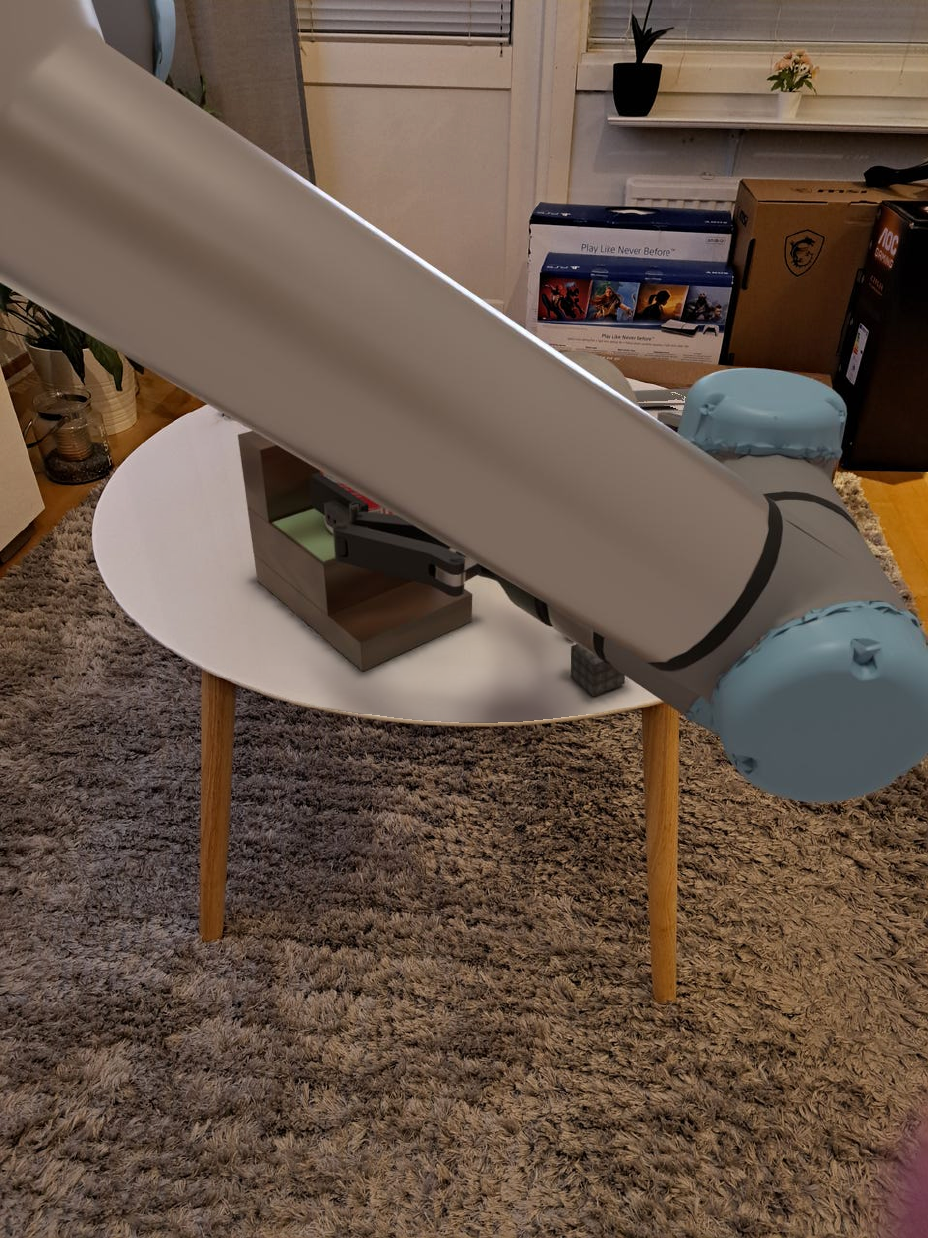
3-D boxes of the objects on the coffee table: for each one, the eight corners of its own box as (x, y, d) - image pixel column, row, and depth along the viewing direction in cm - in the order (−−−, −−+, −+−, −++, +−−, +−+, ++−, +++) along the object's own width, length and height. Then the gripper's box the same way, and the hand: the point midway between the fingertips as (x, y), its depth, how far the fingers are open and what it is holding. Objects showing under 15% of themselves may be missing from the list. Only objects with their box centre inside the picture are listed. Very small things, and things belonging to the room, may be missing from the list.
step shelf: (472, 621, 78) (477, 470, 69) (362, 672, 71) (353, 512, 63) (360, 542, 89) (353, 404, 80) (257, 580, 83) (237, 434, 74)
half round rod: (721, 404, 122) (723, 392, 121) (587, 409, 121) (588, 397, 120) (711, 396, 126) (712, 384, 125) (580, 401, 124) (581, 388, 123)
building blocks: (593, 697, 69) (539, 648, 75) (646, 674, 71) (590, 628, 77) (594, 665, 68) (538, 618, 74) (649, 642, 70) (590, 598, 76)
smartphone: (655, 411, 116) (752, 412, 120) (654, 419, 117) (751, 420, 121) (682, 419, 110) (783, 420, 114) (681, 427, 110) (782, 428, 114)
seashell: (549, 463, 122) (491, 383, 114) (630, 402, 120) (577, 316, 111) (583, 510, 110) (521, 424, 101) (675, 443, 107) (619, 349, 99)
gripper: (430, 703, 50) (253, 556, 63) (693, 566, 64) (502, 468, 77) (430, 597, 46) (240, 463, 59) (712, 474, 59) (506, 387, 73)
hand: (388, 466), depth 68 cm, fingers open, 13 cm apart
